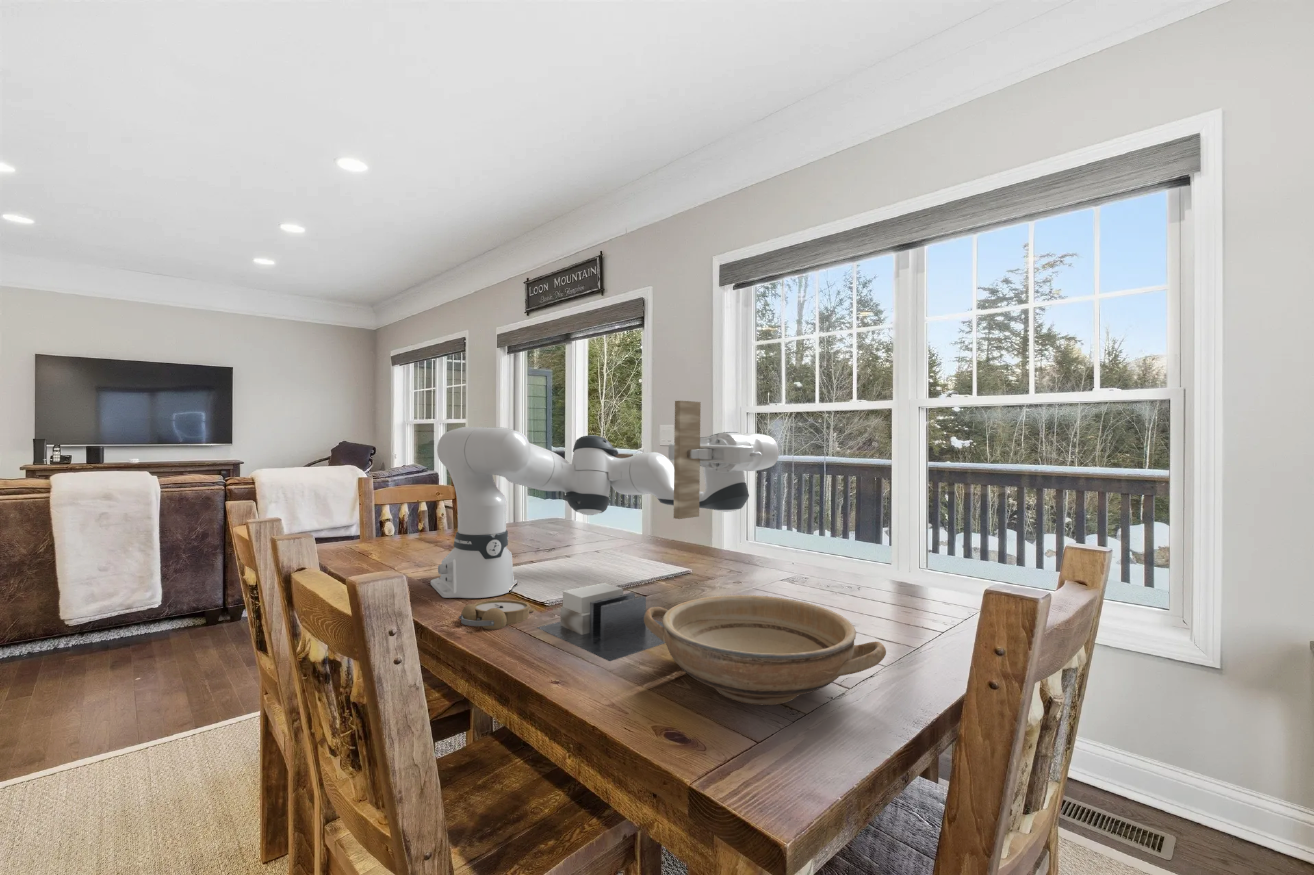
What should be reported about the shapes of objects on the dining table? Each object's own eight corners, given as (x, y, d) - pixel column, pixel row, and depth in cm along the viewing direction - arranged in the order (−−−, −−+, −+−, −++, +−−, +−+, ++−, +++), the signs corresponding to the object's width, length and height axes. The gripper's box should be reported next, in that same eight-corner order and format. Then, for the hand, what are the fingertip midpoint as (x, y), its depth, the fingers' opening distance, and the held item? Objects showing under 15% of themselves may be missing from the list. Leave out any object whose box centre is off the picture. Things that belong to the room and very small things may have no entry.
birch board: (673, 518, 121) (674, 400, 120) (693, 515, 125) (694, 402, 125) (679, 519, 119) (680, 400, 119) (699, 516, 124) (700, 401, 123)
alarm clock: (542, 604, 121) (492, 610, 108) (539, 629, 120) (489, 638, 107) (499, 597, 126) (446, 602, 113) (496, 621, 125) (443, 629, 112)
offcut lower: (560, 625, 113) (560, 607, 113) (609, 613, 121) (609, 596, 121) (582, 634, 108) (582, 615, 108) (631, 621, 116) (632, 603, 116)
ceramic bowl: (600, 697, 85) (601, 627, 85) (681, 637, 111) (682, 583, 110) (872, 764, 68) (873, 678, 68) (894, 675, 94) (895, 612, 94)
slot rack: (536, 632, 112) (537, 595, 112) (618, 611, 125) (618, 578, 125) (609, 667, 96) (610, 624, 96) (694, 638, 109) (694, 601, 109)
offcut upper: (562, 606, 113) (563, 591, 113) (603, 597, 120) (604, 582, 120) (581, 614, 109) (581, 597, 109) (622, 603, 116) (623, 588, 116)
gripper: (765, 469, 123) (722, 472, 114) (694, 464, 138) (650, 466, 129) (766, 439, 123) (723, 439, 114) (694, 437, 138) (651, 437, 129)
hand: (684, 453), depth 121 cm, fingers closed on birch board, 2 cm apart
